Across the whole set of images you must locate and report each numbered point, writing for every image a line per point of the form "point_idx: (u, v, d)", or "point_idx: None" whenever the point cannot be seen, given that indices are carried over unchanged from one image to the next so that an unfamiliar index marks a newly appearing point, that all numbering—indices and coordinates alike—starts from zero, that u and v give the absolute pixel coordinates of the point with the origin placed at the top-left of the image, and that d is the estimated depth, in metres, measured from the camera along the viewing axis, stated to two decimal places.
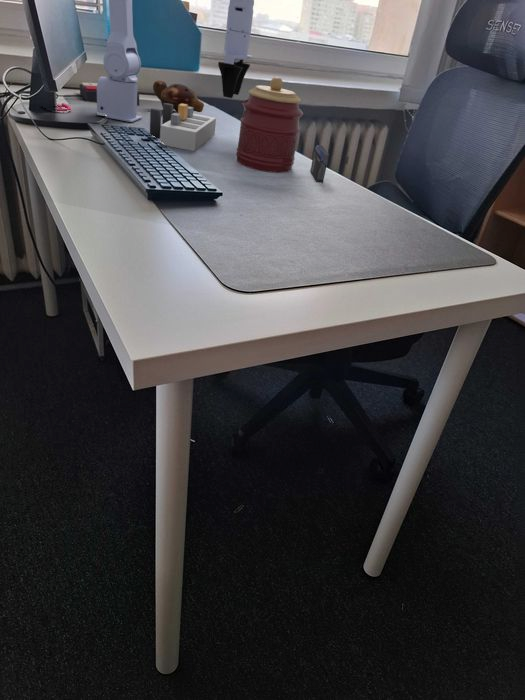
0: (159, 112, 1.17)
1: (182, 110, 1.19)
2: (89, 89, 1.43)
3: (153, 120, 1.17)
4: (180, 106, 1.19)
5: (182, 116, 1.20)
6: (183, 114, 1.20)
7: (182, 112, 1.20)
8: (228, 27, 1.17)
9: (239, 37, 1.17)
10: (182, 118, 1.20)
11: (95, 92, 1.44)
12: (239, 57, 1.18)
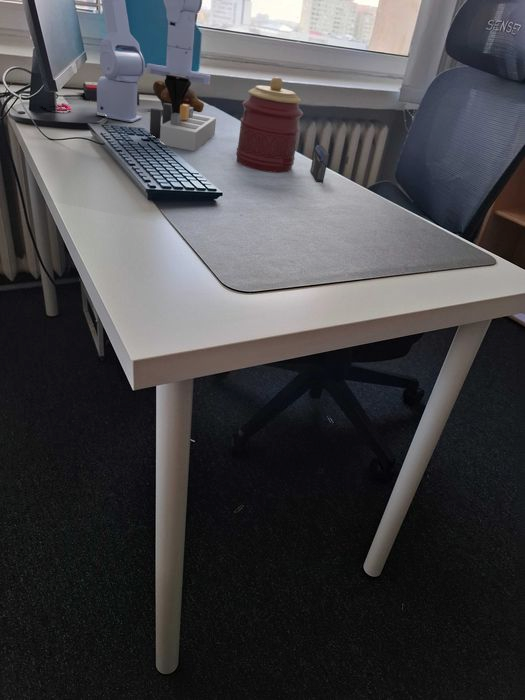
0: (159, 112, 1.17)
1: (184, 110, 1.19)
2: (88, 88, 1.45)
3: (153, 120, 1.17)
4: (182, 106, 1.19)
5: (184, 116, 1.20)
6: (185, 114, 1.20)
7: (184, 112, 1.20)
8: (167, 42, 1.13)
9: None
10: (184, 118, 1.20)
11: (94, 91, 1.45)
12: (158, 69, 1.15)
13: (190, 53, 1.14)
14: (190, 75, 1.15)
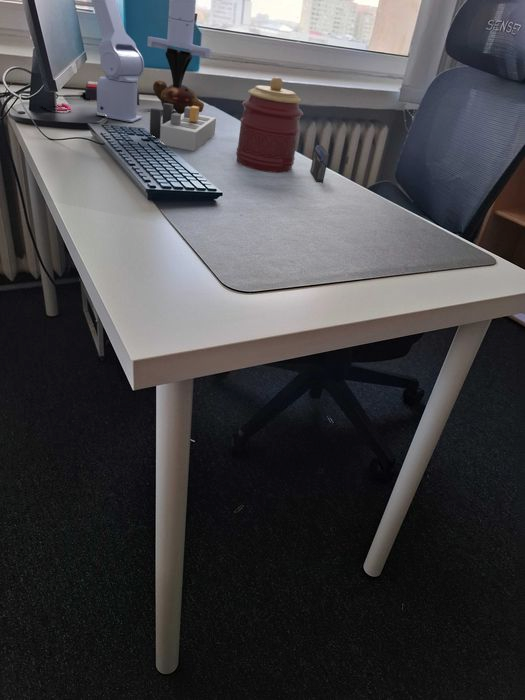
0: (159, 112, 1.17)
1: (194, 112, 1.19)
2: (88, 87, 1.46)
3: (153, 120, 1.17)
4: (192, 108, 1.19)
5: (194, 118, 1.20)
6: (195, 116, 1.20)
7: (194, 114, 1.20)
8: None
9: (168, 23, 1.14)
10: (194, 120, 1.20)
11: (94, 90, 1.46)
12: (159, 41, 1.15)
13: (191, 26, 1.14)
14: (191, 48, 1.15)
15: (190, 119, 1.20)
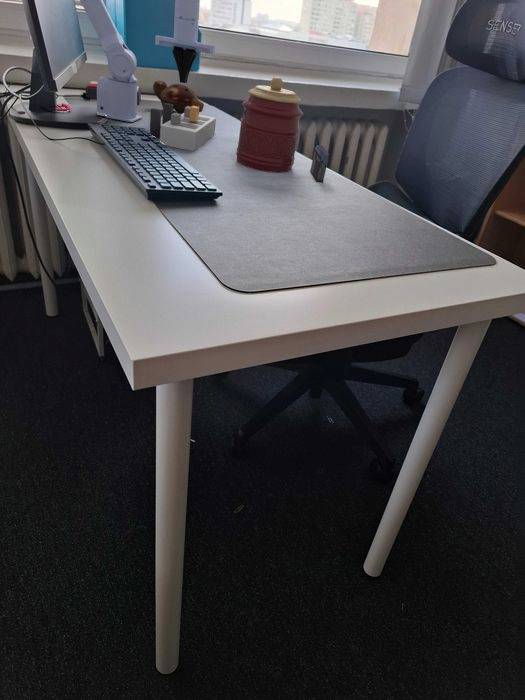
0: (159, 112, 1.17)
1: (194, 112, 1.19)
2: (89, 86, 1.47)
3: (153, 120, 1.17)
4: (192, 108, 1.19)
5: (194, 118, 1.20)
6: (195, 116, 1.20)
7: (194, 114, 1.20)
8: (178, 15, 1.20)
9: (174, 22, 1.22)
10: (194, 120, 1.20)
11: (94, 89, 1.47)
12: (166, 40, 1.24)
13: (196, 24, 1.22)
14: (196, 45, 1.23)
15: (190, 119, 1.20)
